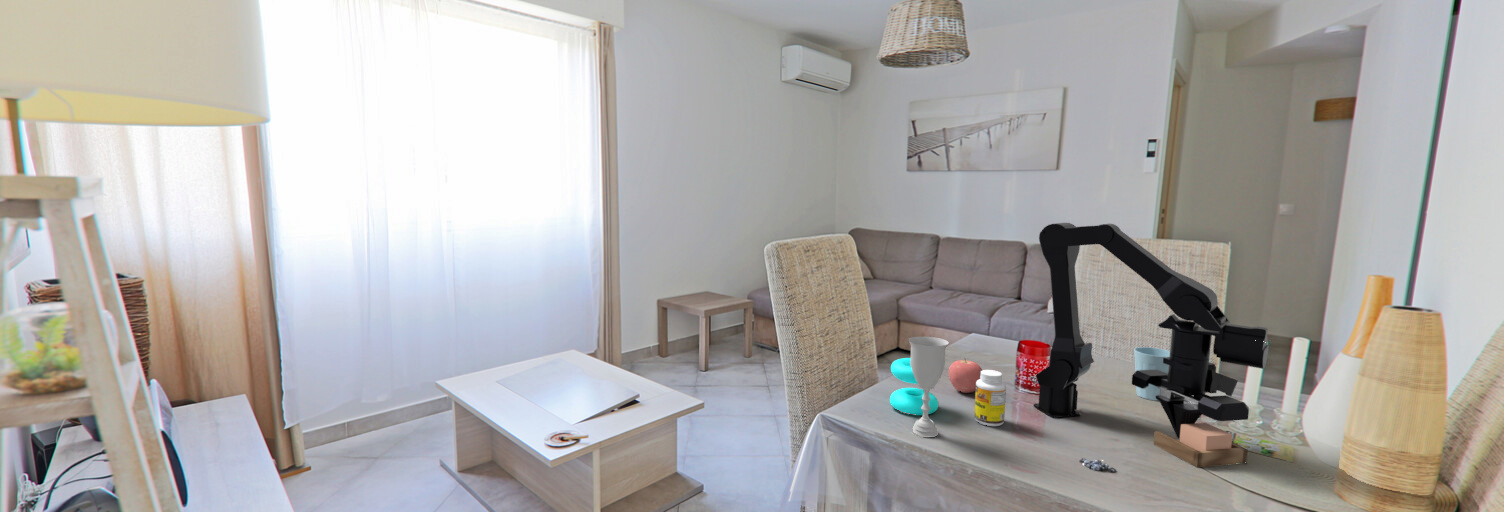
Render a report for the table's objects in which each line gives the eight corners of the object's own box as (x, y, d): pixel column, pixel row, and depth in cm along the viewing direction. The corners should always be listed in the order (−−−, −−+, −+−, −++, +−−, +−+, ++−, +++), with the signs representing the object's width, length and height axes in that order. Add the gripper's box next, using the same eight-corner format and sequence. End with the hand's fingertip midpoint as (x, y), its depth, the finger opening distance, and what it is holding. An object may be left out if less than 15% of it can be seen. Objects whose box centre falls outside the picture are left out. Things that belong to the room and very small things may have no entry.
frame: (1196, 467, 97) (1198, 453, 97) (1153, 444, 106) (1154, 431, 106) (1246, 463, 99) (1247, 449, 98) (1199, 441, 107) (1200, 428, 107)
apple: (948, 395, 131) (949, 361, 130) (947, 384, 138) (948, 352, 137) (983, 398, 129) (985, 364, 128) (980, 388, 136) (982, 354, 135)
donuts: (881, 361, 123) (910, 353, 129) (879, 406, 124) (909, 396, 130) (920, 373, 115) (949, 364, 121) (918, 421, 116) (947, 410, 122)
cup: (1141, 388, 136) (1145, 345, 134) (1178, 398, 129) (1183, 353, 128) (1123, 394, 132) (1127, 349, 131) (1161, 405, 125) (1165, 358, 124)
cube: (1204, 464, 98) (1206, 436, 98) (1178, 451, 103) (1181, 424, 103) (1229, 462, 99) (1232, 434, 98) (1203, 449, 104) (1205, 422, 103)
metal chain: (1076, 457, 103) (1076, 446, 103) (1130, 467, 98) (1129, 456, 98) (1068, 471, 98) (1068, 461, 98) (1124, 483, 93) (1123, 472, 92)
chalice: (945, 428, 113) (948, 338, 111) (944, 442, 107) (948, 347, 105) (906, 423, 115) (909, 335, 113) (903, 436, 109) (906, 344, 107)
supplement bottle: (969, 416, 119) (971, 368, 118) (996, 416, 119) (998, 368, 118) (981, 427, 113) (983, 377, 112) (1009, 427, 114) (1011, 376, 112)
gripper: (1282, 369, 96) (1271, 459, 98) (1183, 340, 114) (1176, 415, 116) (1223, 372, 94) (1214, 463, 96) (1132, 342, 112) (1126, 419, 114)
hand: (1181, 438), depth 106 cm, fingers closed
